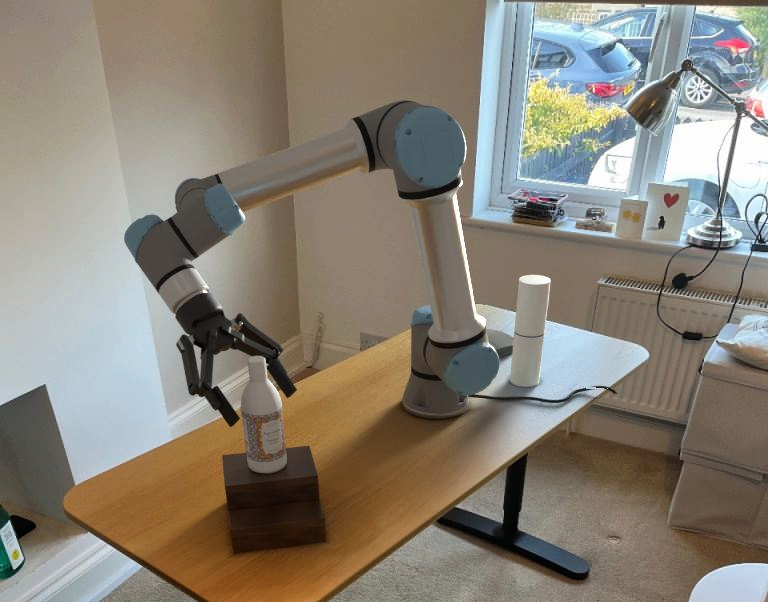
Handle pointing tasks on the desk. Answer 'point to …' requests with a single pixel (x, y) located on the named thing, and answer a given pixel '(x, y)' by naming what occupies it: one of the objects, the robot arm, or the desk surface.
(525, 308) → the cylindrical container
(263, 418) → the bath foam
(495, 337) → the media streaming box
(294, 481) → the stepped brown block
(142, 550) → the desk surface
